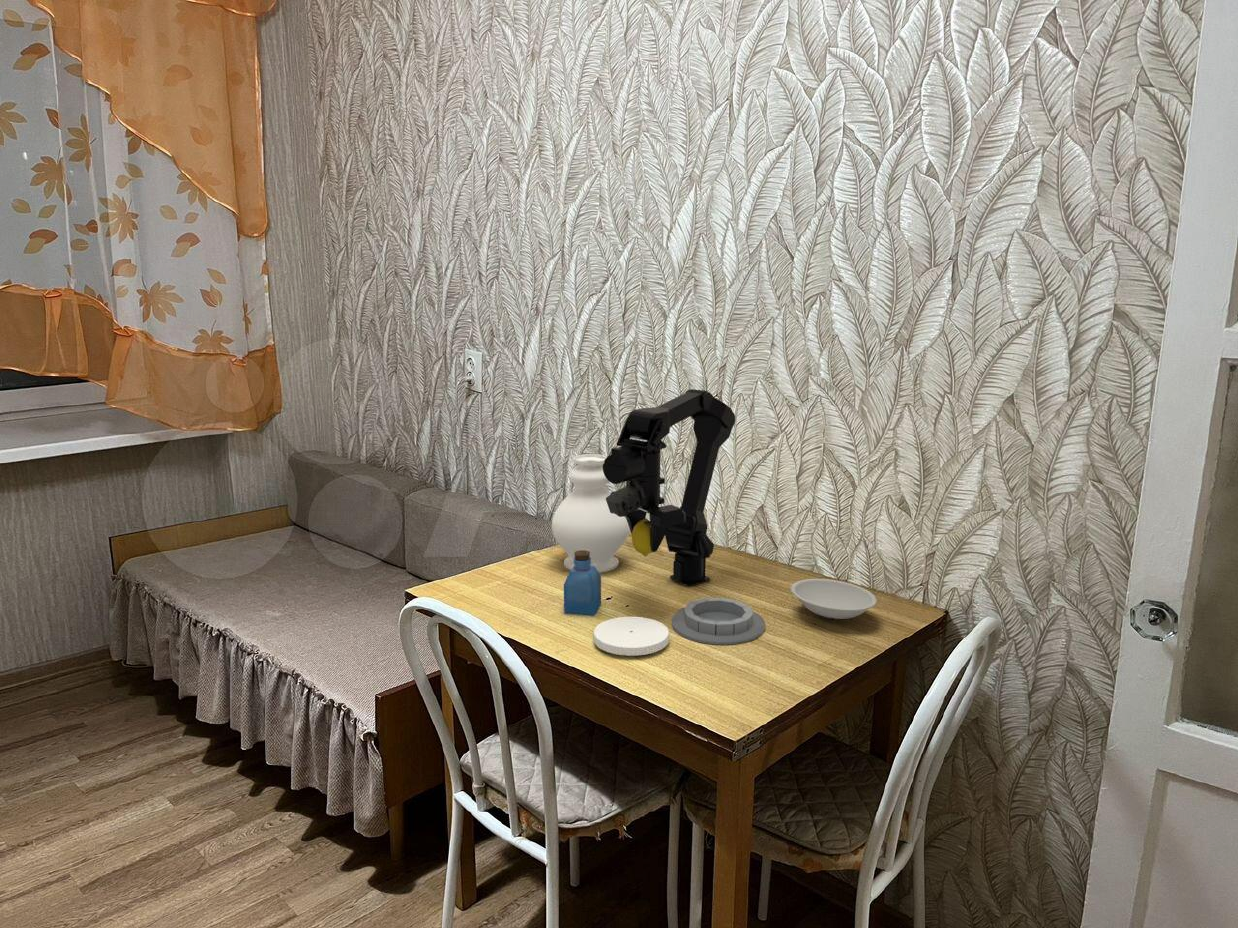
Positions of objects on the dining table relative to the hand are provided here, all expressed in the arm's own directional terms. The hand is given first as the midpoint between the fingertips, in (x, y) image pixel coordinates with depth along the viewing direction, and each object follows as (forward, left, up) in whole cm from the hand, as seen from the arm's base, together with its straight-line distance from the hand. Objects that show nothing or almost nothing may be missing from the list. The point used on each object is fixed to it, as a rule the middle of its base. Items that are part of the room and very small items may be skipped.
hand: (645, 547), depth 192 cm
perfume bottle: (+12, -5, -12) cm, 18 cm away
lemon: (0, 0, -2) cm, 2 cm away
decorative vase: (-4, -26, -12) cm, 29 cm away
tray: (-5, +17, -12) cm, 21 cm away
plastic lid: (+14, +14, -12) cm, 23 cm away
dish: (-26, +27, -12) cm, 39 cm away
